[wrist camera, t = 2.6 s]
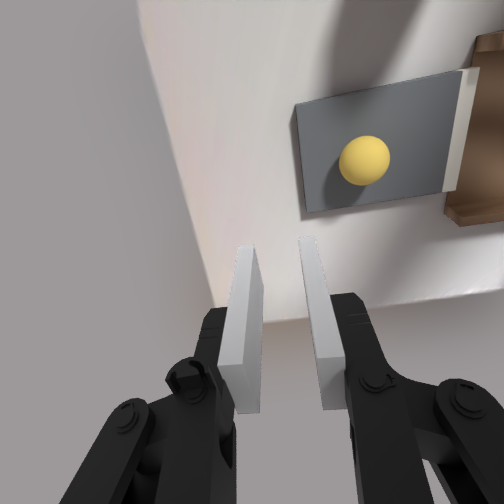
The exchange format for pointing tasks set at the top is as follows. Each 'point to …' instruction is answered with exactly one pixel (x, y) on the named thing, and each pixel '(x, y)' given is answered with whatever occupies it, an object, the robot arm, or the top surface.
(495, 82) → the tray
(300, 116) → the grey flat slab
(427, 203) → the top surface
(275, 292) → the top surface
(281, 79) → the top surface
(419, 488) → the robot arm
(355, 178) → the ball
